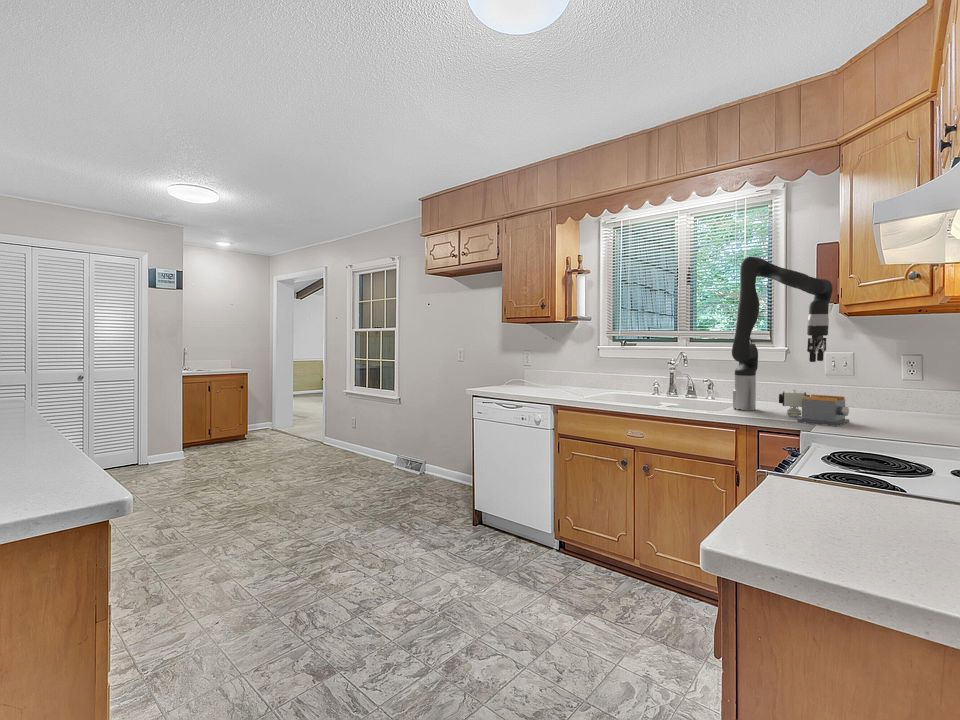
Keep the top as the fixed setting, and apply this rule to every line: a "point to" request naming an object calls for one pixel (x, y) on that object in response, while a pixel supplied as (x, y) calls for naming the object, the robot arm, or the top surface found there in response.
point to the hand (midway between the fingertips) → (816, 361)
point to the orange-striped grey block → (824, 410)
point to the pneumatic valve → (792, 401)
